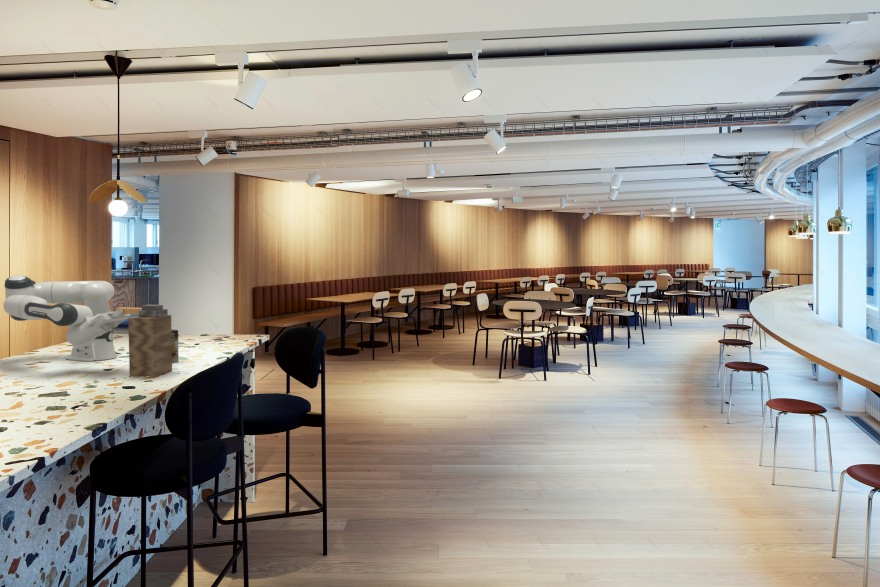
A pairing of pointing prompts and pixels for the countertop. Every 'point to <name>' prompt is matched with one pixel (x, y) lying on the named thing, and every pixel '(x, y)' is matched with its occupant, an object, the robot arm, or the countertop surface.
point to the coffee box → (174, 346)
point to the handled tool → (136, 310)
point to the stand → (150, 343)
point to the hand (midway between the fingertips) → (126, 309)
